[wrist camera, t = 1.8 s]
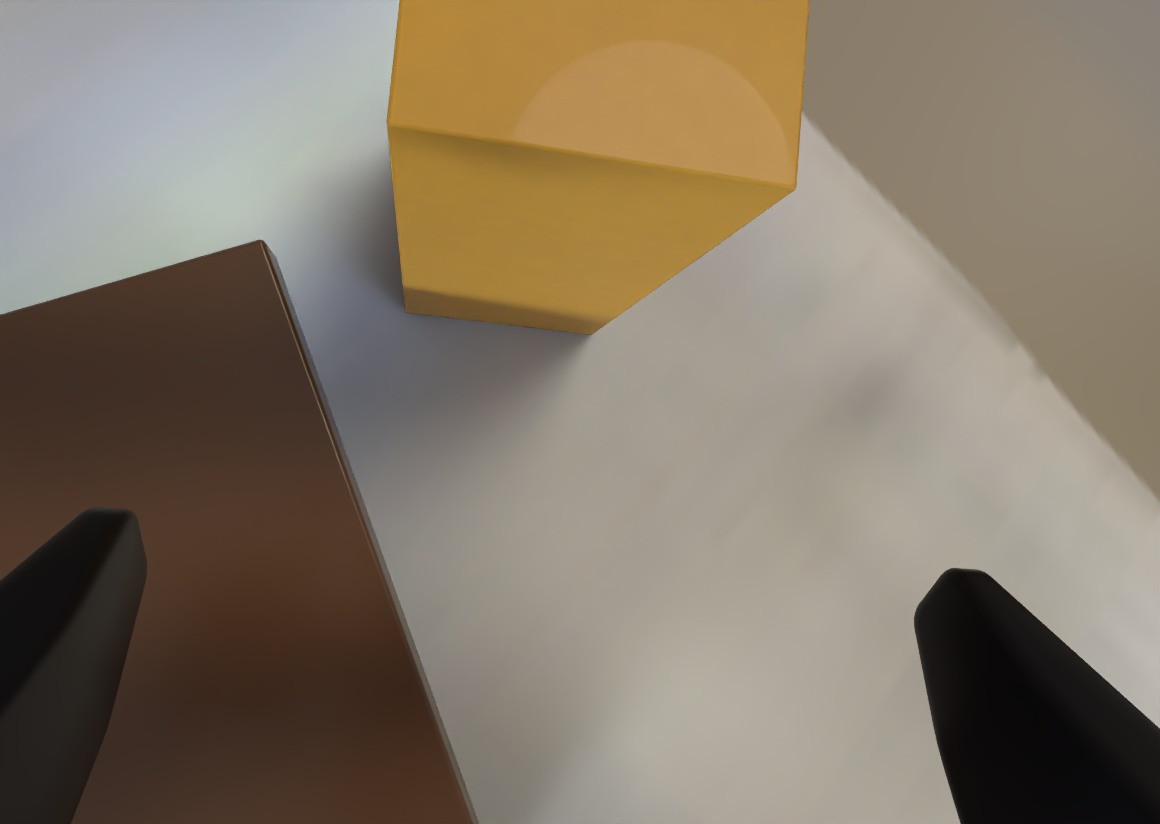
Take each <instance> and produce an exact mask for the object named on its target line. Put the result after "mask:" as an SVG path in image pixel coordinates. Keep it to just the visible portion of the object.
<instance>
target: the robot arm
mask: <svg viewBox="0 0 1160 824" xmlns="http://www.w3.org/2000/svg"><path fill="white" fill-rule="evenodd" d="M146 575H147V559H146V555H145V550H144V546H143V541H142V537H141V532H140V528H139V523H138V519H137V517H136V515H135V514H134V512H132V511H131V510H128V509H117V508H103V507H93V508H89V509H87V510H85V511H83V512H82V513H80V514H79V515H78V516H77V517H75V518H74V519H73V520H72V521H71V522H69V523H68V524H67V525H66V526H65V527H63V528H62V529H61V530H60V531H59V532H57V533H56V534H55V535H54V536H53V537H51V538H50V539H49V540H48V541H47V542H45V543H44V544H43V545H42V546H41V547H39V548H38V549H37V550H36V551H35V552H34V553H32V554H31V555H30V556H29V557H28V558H26V559H25V560H24V561H23V562H22V563H20V564H19V565H18V566H17V567H16V568H14V569H13V570H12V571H11V572H10V573H8V574H7V575H6V576H5V577H4V578H2V579H1V580H0V824H71V822H72V820H73V817H74V814H75V812H76V809H77V807H78V804H79V801H80V799H81V796H82V794H83V791H84V789H85V786H86V783H87V781H88V778H89V776H90V773H91V770H92V768H93V765H94V763H95V760H96V758H97V755H98V752H99V750H100V747H101V744H102V742H103V739H104V736H105V733H106V730H107V727H108V725H109V721H110V717H111V714H112V710H113V707H114V703H115V699H116V695H117V692H118V688H119V684H120V680H121V676H122V672H123V668H124V664H125V660H126V656H127V652H128V649H129V645H130V641H131V637H132V633H133V629H134V625H135V621H136V617H137V613H138V610H139V606H140V602H141V598H142V594H143V590H144V586H145V582H146ZM914 627H915V633H916V638H917V643H918V649H919V654H920V659H921V664H922V669H923V674H924V680H925V685H926V690H927V695H928V700H929V705H930V711H931V716H932V721H933V726H934V731H935V735H936V740H937V744H938V748H939V752H940V756H941V759H942V763H943V766H944V770H945V773H946V777H947V780H948V783H949V787H950V790H951V793H952V796H953V800H954V803H955V806H956V810H957V813H958V816H959V820H960V823H961V824H1160V728H1158V727H1157V726H1156V725H1155V724H1154V723H1153V722H1152V721H1151V720H1150V719H1148V718H1147V717H1146V716H1145V715H1144V714H1143V713H1142V712H1141V711H1140V710H1138V709H1137V708H1136V707H1135V706H1134V705H1133V704H1132V703H1131V702H1130V701H1128V700H1127V699H1126V698H1125V697H1124V696H1123V695H1122V694H1121V693H1120V692H1118V691H1117V690H1116V689H1115V688H1114V687H1113V686H1112V685H1111V684H1110V683H1108V682H1107V681H1106V680H1105V679H1104V678H1103V677H1102V676H1101V675H1100V674H1098V673H1097V672H1096V671H1095V670H1094V669H1093V668H1092V667H1091V666H1090V665H1088V664H1087V663H1086V662H1085V661H1084V660H1083V659H1082V658H1081V657H1080V656H1078V655H1077V654H1076V653H1075V652H1074V651H1073V650H1072V649H1071V648H1070V647H1068V646H1067V645H1066V644H1065V643H1064V642H1063V641H1062V640H1061V639H1060V638H1058V637H1057V636H1056V635H1055V634H1054V633H1053V632H1052V631H1051V630H1050V629H1048V628H1047V627H1046V626H1045V625H1044V624H1043V623H1042V622H1041V621H1040V620H1038V619H1037V618H1036V617H1035V616H1034V615H1033V614H1032V613H1031V612H1030V611H1028V610H1027V609H1026V608H1025V607H1024V606H1023V605H1022V604H1021V603H1020V602H1018V601H1017V600H1016V599H1015V598H1014V597H1013V596H1012V595H1011V594H1010V593H1008V592H1007V591H1006V590H1005V589H1004V588H1003V587H1002V586H1001V585H1000V584H998V583H997V582H996V581H995V580H994V579H993V578H992V577H991V576H989V575H988V574H987V573H985V572H983V571H980V570H974V569H960V568H951V569H949V570H946V571H945V572H944V573H943V574H942V575H941V576H940V578H939V579H938V580H937V581H936V583H935V584H934V585H933V587H932V588H931V589H930V591H929V592H928V593H927V594H926V596H925V597H924V598H923V600H922V601H921V602H920V604H919V605H918V607H917V609H916V612H915V617H914Z"/></svg>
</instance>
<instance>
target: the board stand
mask: <svg viewBox="0 0 1160 824" xmlns="http://www.w3.org/2000/svg"><path fill="white" fill-rule="evenodd" d="M93 507H103V508H117V509H128V510H131V511H132V512H134V514H135V515H136V517H137V519H138V523H139V528H140V532H141V537H142V541H143V546H144V550H145V555H146V559H147V575H146V582H145V586H144V590H143V594H142V598H141V602H140V606H139V610H138V613H137V617H136V621H135V625H134V629H133V633H132V637H131V641H130V645H129V649H128V652H127V656H126V660H125V664H124V668H123V672H122V676H121V680H120V684H119V688H118V692H117V695H116V699H115V703H114V707H113V710H112V714H111V717H110V721H109V725H108V727H107V730H106V733H105V736H104V739H103V742H102V744H101V747H100V750H99V752H98V755H97V758H96V760H95V763H94V765H93V768H92V770H91V773H90V776H89V778H88V781H87V783H86V786H85V789H84V791H83V794H82V796H81V799H80V801H79V804H78V807H77V809H76V812H75V814H74V817H73V820H72V822H71V824H479V822H478V820H477V817H476V814H475V811H474V808H473V806H472V803H471V800H470V797H469V794H468V792H467V789H466V786H465V783H464V781H463V778H462V775H461V772H460V769H459V767H458V764H457V761H456V758H455V755H454V753H453V750H452V747H451V744H450V742H449V739H448V736H447V733H446V730H445V728H444V725H443V722H442V719H441V716H440V714H439V711H438V708H437V705H436V702H435V700H434V697H433V694H432V691H431V689H430V686H429V683H428V680H427V677H426V675H425V672H424V669H423V666H422V663H421V661H420V658H419V655H418V652H417V649H416V647H415V644H414V641H413V638H412V636H411V633H410V630H409V627H408V624H407V622H406V619H405V616H404V613H403V610H402V608H401V605H400V602H399V599H398V596H397V594H396V591H395V588H394V585H393V583H392V580H391V577H390V574H389V571H388V569H387V566H386V563H385V560H384V557H383V555H382V552H381V549H380V546H379V544H378V541H377V538H376V535H375V532H374V530H373V527H372V524H371V521H370V518H369V516H368V513H367V510H366V507H365V504H364V502H363V499H362V496H361V493H360V491H359V488H358V485H357V482H356V479H355V477H354V474H353V471H352V468H351V465H350V463H349V460H348V457H347V454H346V451H345V449H344V446H343V443H342V440H341V438H340V435H339V432H338V429H337V426H336V424H335V421H334V418H333V415H332V412H331V410H330V407H329V404H328V401H327V398H326V396H325V393H324V390H323V387H322V385H321V382H320V379H319V376H318V373H317V371H316V368H315V365H314V362H313V359H312V357H311V354H310V351H309V348H308V346H307V343H306V340H305V337H304V334H303V332H302V329H301V326H300V323H299V320H298V318H297V315H296V312H295V309H294V306H293V304H292V301H291V298H290V295H289V293H288V290H287V287H286V284H285V281H284V279H283V276H282V273H281V270H280V267H279V265H278V262H277V259H276V257H275V256H274V254H273V253H272V251H271V250H270V249H269V247H268V246H267V244H266V243H265V242H264V241H263V240H256V241H253V242H250V243H246V244H243V245H239V246H236V247H232V248H229V249H225V250H222V251H219V252H215V253H212V254H208V255H205V256H201V257H198V258H194V259H191V260H188V261H184V262H181V263H177V264H174V265H170V266H167V267H163V268H160V269H156V270H153V271H150V272H146V273H143V274H139V275H136V276H132V277H129V278H125V279H122V280H119V281H115V282H112V283H108V284H105V285H101V286H98V287H94V288H91V289H88V290H84V291H81V292H77V293H74V294H70V295H67V296H63V297H60V298H57V299H53V300H50V301H46V302H43V303H39V304H36V305H32V306H29V307H26V308H22V309H19V310H15V311H12V312H8V313H5V314H1V315H0V580H1V579H2V578H4V577H5V576H6V575H7V574H8V573H10V572H11V571H12V570H13V569H14V568H16V567H17V566H18V565H19V564H20V563H22V562H23V561H24V560H25V559H26V558H28V557H29V556H30V555H31V554H32V553H34V552H35V551H36V550H37V549H38V548H39V547H41V546H42V545H43V544H44V543H45V542H47V541H48V540H49V539H50V538H51V537H53V536H54V535H55V534H56V533H57V532H59V531H60V530H61V529H62V528H63V527H65V526H66V525H67V524H68V523H69V522H71V521H72V520H73V519H74V518H75V517H77V516H78V515H79V514H80V513H82V512H83V511H85V510H87V509H89V508H93Z"/></svg>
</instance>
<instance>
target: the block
mask: <svg viewBox="0 0 1160 824" xmlns="http://www.w3.org/2000/svg"><path fill="white" fill-rule="evenodd" d="M808 14H809V0H400V3H399V12H398V21H397V31H396V40H395V49H394V59H393V68H392V77H391V87H390V96H389V105H388V115H387V130H388V140H389V150H390V161H391V171H392V181H393V191H394V202H395V212H396V222H397V233H398V243H399V253H400V263H401V274H402V284H403V294H404V304H405V312H407V313H414V314H423V315H431V316H440V317H448V318H456V319H465V320H473V321H482V322H490V323H498V324H507V325H515V326H524V327H532V328H540V329H549V330H557V331H566V332H574V333H582V334H593V333H595V332H596V331H598V330H599V329H600V328H602V327H603V326H605V325H606V324H607V323H609V322H610V321H612V320H613V319H614V318H616V317H617V316H619V315H620V314H621V313H623V312H624V311H626V310H627V309H628V308H630V307H631V306H633V305H634V304H635V303H637V302H638V301H640V300H641V299H642V298H644V297H645V296H647V295H648V294H649V293H651V292H652V291H654V290H655V289H656V288H658V287H659V286H661V285H662V284H664V283H665V282H666V281H668V280H669V279H671V278H672V277H673V276H675V275H676V274H678V273H679V272H680V271H682V270H683V269H685V268H686V267H687V266H689V265H690V264H692V263H693V262H694V261H696V260H697V259H699V258H700V257H701V256H703V255H704V254H706V253H707V252H708V251H710V250H711V249H713V248H714V247H715V246H717V245H718V244H720V243H721V242H722V241H724V240H725V239H727V238H728V237H729V236H731V235H732V234H734V233H735V232H736V231H738V230H739V229H741V228H742V227H743V226H745V225H746V224H748V223H749V222H750V221H752V220H753V219H755V218H756V217H757V216H759V215H760V214H762V213H763V212H764V211H766V210H767V209H769V208H770V207H771V206H773V205H774V204H776V203H777V202H778V201H780V200H781V199H783V198H784V197H785V196H787V195H788V194H790V193H791V192H792V191H794V190H795V188H796V183H797V169H798V155H799V141H800V127H801V113H802V99H803V83H804V70H805V69H804V68H805V55H806V42H807V27H808Z"/></svg>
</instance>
